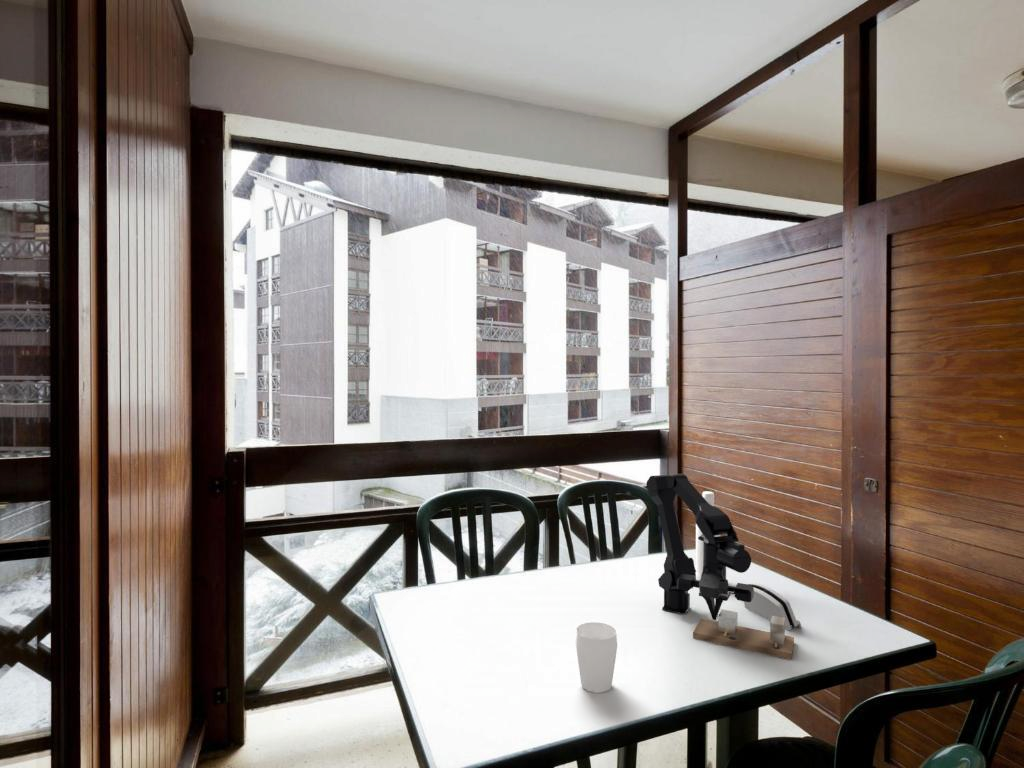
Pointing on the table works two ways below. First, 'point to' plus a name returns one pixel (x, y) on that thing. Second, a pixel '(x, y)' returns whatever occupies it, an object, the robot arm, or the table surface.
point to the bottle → (699, 544)
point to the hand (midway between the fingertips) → (714, 619)
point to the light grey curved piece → (771, 605)
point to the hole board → (750, 637)
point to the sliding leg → (728, 622)
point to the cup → (596, 655)
